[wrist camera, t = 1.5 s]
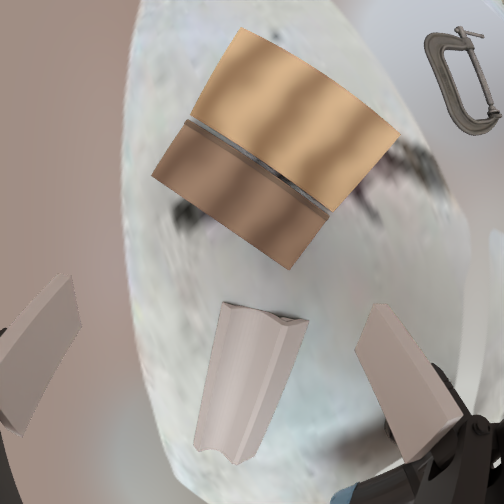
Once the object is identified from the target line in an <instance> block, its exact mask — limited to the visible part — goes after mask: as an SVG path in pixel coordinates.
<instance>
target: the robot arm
mask: <svg viewBox="0 0 504 504" xmlns="http://www.w3.org/2000/svg"><path fill="white" fill-rule="evenodd" d="M81 328H82V324H81V320H80V316H79V311H78V307H77V302H76V297H75V292H74V286H73V280H72V276H71V275H64V274H59V273H58V274H57V275H56V276H55V277H54V278H53V279H52V280H51V281H50V282H49V283H48V284H47V285H46V286H45V287H44V288H43V289H42V291H40V293H39V294H38V295H37V296H36V297H35V298H34V299H33V300H32V301H31V302H30V303H29V304H28V306H27V307H26V308H25V309H24V310H23V311H22V312H21V314H19V316H18V317H17V318H16V319H15V320H14V321H13V323H12V324H11V325H10V326H9V327H8V328H3V329H2V330H0V421H1V423H2V424H3V425H4V426H5V428H6V429H7V430H9V431H11V432H13V433H14V434H16V435H18V436H20V437H23V435H24V433H25V431H26V428H27V426H28V424H29V422H30V420H31V418H32V416H33V413H34V412H35V410H36V407H37V405H38V403H39V401H40V399H41V397H42V396H43V394H44V392H45V390H46V388H47V386H48V384H49V382H50V380H51V379H52V377H53V375H54V373H55V371H56V370H57V368H58V366H59V364H60V363H61V361H62V359H63V357H64V356H65V354H66V352H67V350H68V349H69V347H70V345H71V344H72V342H73V340H74V339H75V337H76V336H77V334H78V332H79V331H80V329H81ZM355 352H356V354H357V356H358V359H359V361H360V363H361V365H362V367H363V369H364V371H365V373H366V375H367V378H368V380H369V382H370V384H371V386H372V388H373V391H374V393H375V395H376V397H377V399H378V402H379V404H380V406H381V408H382V410H383V413H384V415H385V417H386V421H385V430H386V433H387V435H388V437H389V439H390V440H391V441H392V442H393V443H394V444H395V445H396V446H397V447H398V448H399V450H400V452H401V455H402V457H403V460H404V462H405V463H404V464H402V465H400V466H398V467H396V468H394V469H392V470H390V471H387V472H385V473H383V474H380V475H378V476H376V477H373V478H371V479H368V480H366V481H363V482H357V483H355V484H354V485H353V486H350V487H348V488H345V489H342V490H340V491H338V492H336V493H335V494H334V495H333V497H332V498H331V501H330V504H504V419H503V420H502V421H501V422H500V423H489V421H488V420H487V419H486V418H485V417H483V416H481V415H471V414H470V412H469V410H468V409H467V407H466V406H465V404H464V403H463V401H462V399H461V398H460V397H459V395H458V393H457V392H456V390H455V389H453V386H452V384H451V383H450V382H449V381H448V378H447V377H446V375H445V374H444V372H443V371H442V370H441V369H440V368H439V367H437V366H436V365H435V364H434V363H430V362H429V361H428V359H427V358H426V356H425V355H424V353H423V352H422V350H421V349H420V348H419V346H418V345H417V343H416V342H415V341H414V339H413V338H412V336H411V335H410V334H409V332H408V331H407V330H406V328H405V327H404V325H403V324H402V323H401V321H400V320H399V319H398V317H397V316H396V315H395V313H394V312H393V311H392V309H391V308H390V307H389V306H388V304H373V306H372V309H371V312H370V314H369V317H368V319H367V322H366V324H365V327H364V329H363V332H362V334H361V336H360V339H359V341H358V343H357V346H356V348H355ZM500 457H501V464H500V465H499V466H497V467H496V468H494V466H493V463H494V462H496V461H497V460H498V459H499V458H500ZM0 504H23V503H22V500H21V498H20V495H19V493H18V490H17V487H16V485H15V481H14V478H13V476H12V473H11V469H10V466H9V463H8V459H7V456H6V452H5V448H4V444H3V440H2V436H1V432H0Z"/></svg>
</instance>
